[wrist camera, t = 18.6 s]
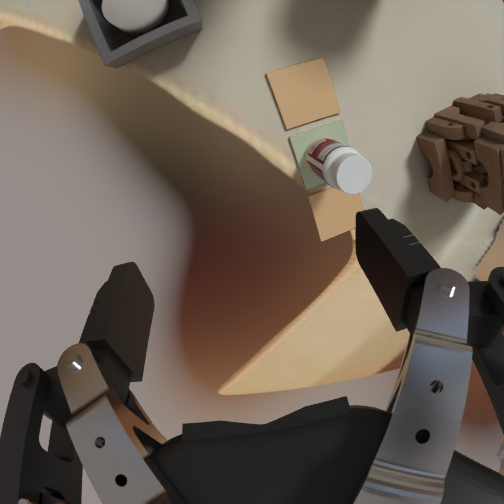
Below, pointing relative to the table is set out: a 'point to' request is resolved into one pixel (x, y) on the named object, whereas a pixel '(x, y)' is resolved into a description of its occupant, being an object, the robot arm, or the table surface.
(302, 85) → the track
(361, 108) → the table surface
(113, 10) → the dome plunger
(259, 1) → the table surface
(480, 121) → the wooden puzzle
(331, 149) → the pill bottle
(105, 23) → the grey open box
